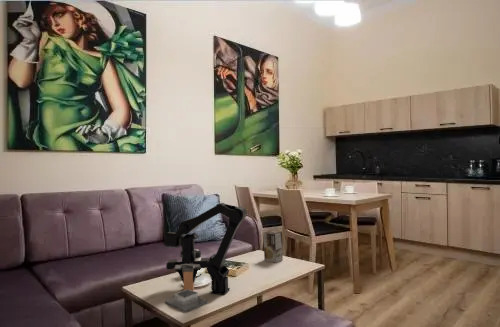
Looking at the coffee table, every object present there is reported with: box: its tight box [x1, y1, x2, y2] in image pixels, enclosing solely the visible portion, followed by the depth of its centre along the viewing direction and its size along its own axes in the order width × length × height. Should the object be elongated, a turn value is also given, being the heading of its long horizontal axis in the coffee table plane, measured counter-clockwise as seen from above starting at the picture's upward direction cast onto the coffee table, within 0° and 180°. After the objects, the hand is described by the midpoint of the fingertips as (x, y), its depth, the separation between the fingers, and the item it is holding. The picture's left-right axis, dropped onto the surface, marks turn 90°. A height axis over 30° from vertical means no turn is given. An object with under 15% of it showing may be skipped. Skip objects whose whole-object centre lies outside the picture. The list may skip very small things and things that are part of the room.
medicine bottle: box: [185, 249, 202, 267], centre depth 164 cm, size 7×7×12 cm
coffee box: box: [262, 230, 284, 264], centre depth 183 cm, size 9×6×16 cm
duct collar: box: [164, 289, 209, 314], centre depth 130 cm, size 14×11×4 cm
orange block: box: [183, 265, 195, 291], centre depth 144 cm, size 4×4×10 cm
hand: (188, 282), depth 144 cm, fingers closed on orange block, 4 cm apart
